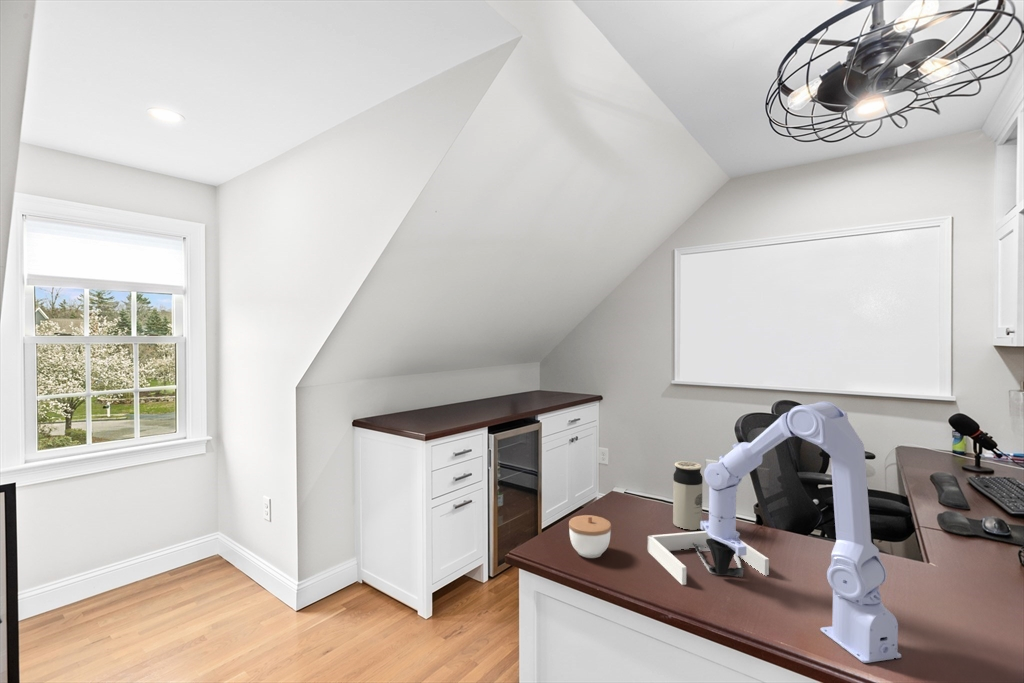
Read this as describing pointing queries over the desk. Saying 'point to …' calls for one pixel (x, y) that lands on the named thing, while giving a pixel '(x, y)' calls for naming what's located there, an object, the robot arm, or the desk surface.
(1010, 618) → the desk surface
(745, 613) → the desk surface
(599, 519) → the lidded jar
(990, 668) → the desk surface
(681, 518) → the travel mug
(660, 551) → the box
